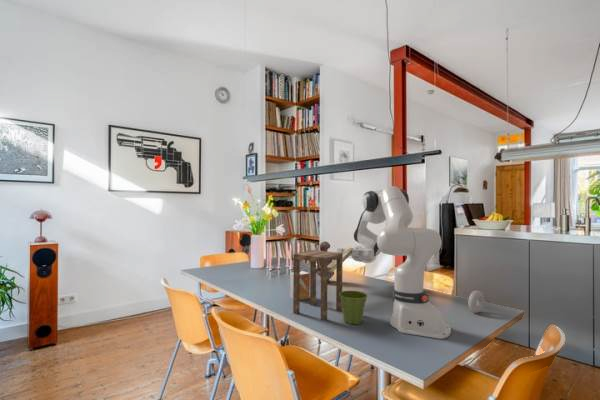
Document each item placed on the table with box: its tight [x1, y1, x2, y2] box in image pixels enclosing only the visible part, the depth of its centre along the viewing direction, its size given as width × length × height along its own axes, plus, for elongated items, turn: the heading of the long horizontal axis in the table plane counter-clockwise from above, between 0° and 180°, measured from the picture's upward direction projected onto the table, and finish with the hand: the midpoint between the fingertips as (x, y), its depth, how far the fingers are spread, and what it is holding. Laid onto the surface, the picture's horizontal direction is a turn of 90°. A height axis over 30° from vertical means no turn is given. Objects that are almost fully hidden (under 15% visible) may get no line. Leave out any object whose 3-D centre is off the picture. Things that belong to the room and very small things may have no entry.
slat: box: [327, 247, 354, 272], centre depth 165 cm, size 3×24×2 cm, turn 144°
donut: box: [467, 290, 485, 314], centre depth 145 cm, size 10×4×10 cm, turn 124°
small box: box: [289, 270, 310, 301], centre depth 164 cm, size 8×6×13 cm
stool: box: [292, 249, 343, 322], centre depth 144 cm, size 16×16×26 cm
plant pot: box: [339, 290, 369, 325], centre depth 133 cm, size 12×12×11 cm
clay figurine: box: [316, 241, 335, 283], centre depth 198 cm, size 13×10×25 cm
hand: (348, 251), depth 172 cm, fingers closed on slat, 3 cm apart
